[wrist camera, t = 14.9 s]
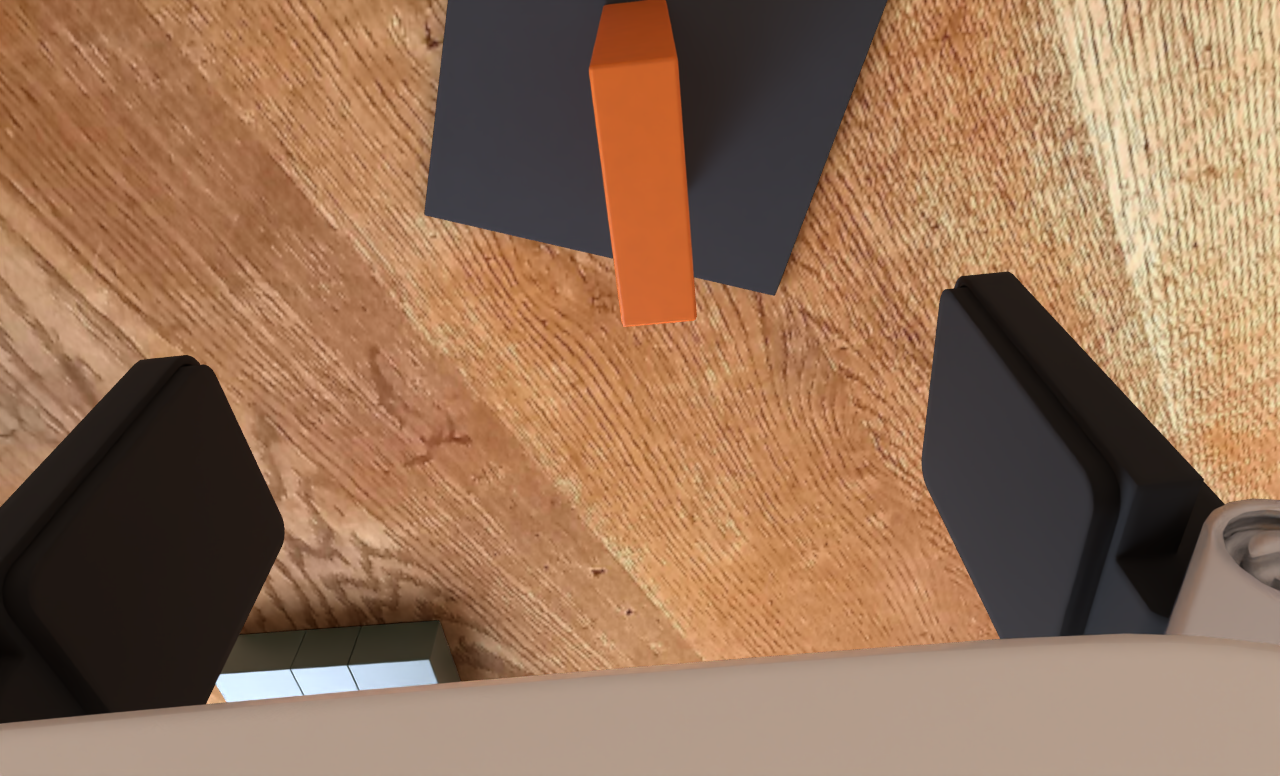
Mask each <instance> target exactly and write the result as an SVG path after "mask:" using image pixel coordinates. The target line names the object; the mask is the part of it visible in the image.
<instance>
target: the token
mask: <svg viewBox="0 0 1280 776" xmlns="http://www.w3.org/2000/svg"><path fill="white" fill-rule="evenodd" d="M589 77H590V85H591V92H592V100H593V107H594V115H595V123H596V130H597V138H598V146H599V153H600V161H601V168H602V176H603V184H604V191H605V199H606V206H607V214H608V222H609V229H610V237H611V245H612V252H613V260H614V267H615V275H616V283H617V290H618V298H619V305H620V313H621V321H622V324H623V326H625V327H629V326H640V325H651V324H662V323H673V322H684V321H693V320H695V319H696V317H697V313H696V299H695V286H694V272H693V258H692V245H691V231H690V217H689V204H688V190H687V176H686V163H685V149H684V136H683V122H682V108H681V95H680V81H679V67H678V58H677V53H676V48H675V43H674V38H673V33H672V28H671V23H670V18H669V13H668V8H667V3H666V0H644V1H635V2H626V3H617V4H608V5H604V6H603V9H602V14H601V18H600V23H599V27H598V31H597V36H596V40H595V45H594V49H593V53H592V58H591V62H590V66H589Z"/></svg>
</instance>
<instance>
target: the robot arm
mask: <svg viewBox="0 0 1280 776" xmlns="http://www.w3.org/2000/svg"><path fill="white" fill-rule="evenodd" d="M922 472H923V477H924V481H925V484H926V486H927V489H928V491H929V493H930V495H931V497H932V499H933V501H934V503H935V505H936V507H937V509H938V511H939V513H940V516H941V518H942V520H943V522H944V524H945V526H946V528H947V530H948V532H949V534H950V536H951V538H952V540H953V542H954V544H955V546H956V549H957V551H958V553H959V555H960V557H961V559H962V561H963V563H964V565H965V567H966V569H967V571H968V573H969V575H970V577H971V579H972V581H973V584H974V586H975V588H976V590H977V592H978V594H979V596H980V598H981V600H982V602H983V604H984V606H985V608H986V610H987V612H988V614H989V617H990V619H991V621H992V623H993V625H994V627H995V629H996V631H997V633H998V635H999V637H1000V639H992V640H978V641H966V642H953V643H940V644H927V645H911V646H896V647H880V648H867V649H855V650H842V651H830V652H817V653H805V654H792V655H780V656H767V657H755V658H742V659H729V660H717V661H704V662H692V663H679V664H667V665H654V666H642V667H629V668H617V669H606V670H594V671H582V672H570V673H558V674H546V675H534V676H523V677H511V678H499V679H487V680H475V681H464V682H452V683H441V684H429V685H417V686H406V687H394V688H383V689H371V690H359V691H348V692H336V693H325V694H314V695H303V696H292V697H281V698H270V699H259V700H248V701H237V702H226V703H215V704H206V703H207V701H208V698H209V696H210V694H211V692H212V690H213V688H214V686H215V684H216V682H217V680H218V678H219V676H220V674H221V672H222V669H223V667H224V665H225V663H226V661H227V659H228V657H229V655H230V653H231V651H232V649H233V647H234V645H235V642H236V640H237V638H238V636H239V634H240V632H241V630H242V628H243V626H244V624H245V622H246V620H247V618H248V616H249V613H250V611H251V609H252V607H253V605H254V603H255V601H256V599H257V597H258V595H259V593H260V591H261V589H262V586H263V584H264V582H265V580H266V578H267V576H268V574H269V572H270V570H271V568H272V566H273V564H274V562H275V560H276V557H277V555H278V553H279V551H280V549H281V547H282V544H283V541H284V522H283V519H282V516H281V514H280V512H279V510H278V507H277V505H276V503H275V501H274V499H273V497H272V495H271V492H270V490H269V488H268V486H267V484H266V482H265V480H264V477H263V475H262V473H261V471H260V469H259V467H258V465H257V462H256V460H255V458H254V456H253V454H252V452H251V450H250V448H249V445H248V443H247V441H246V439H245V437H244V435H243V433H242V430H241V428H240V426H239V424H238V422H237V420H236V418H235V415H234V413H233V411H232V409H231V407H230V405H229V403H228V400H227V398H226V396H225V394H224V392H223V390H222V388H221V385H220V383H219V381H218V379H217V377H216V375H215V373H214V372H213V370H212V369H211V368H210V367H209V366H207V365H200V363H199V362H198V361H197V360H196V359H195V358H193V357H191V356H188V355H183V356H173V357H164V358H154V359H145V360H140V361H139V362H137V363H136V364H134V366H133V367H132V368H131V369H130V370H129V371H128V372H127V373H126V374H125V375H124V376H123V377H122V378H121V379H120V380H119V381H118V383H117V384H116V385H115V386H114V387H113V388H112V389H111V390H110V391H109V392H108V393H107V394H106V395H105V396H104V397H103V399H102V400H101V401H100V402H99V403H98V404H97V405H96V406H95V407H94V408H93V409H92V410H91V411H90V412H89V413H88V414H87V416H86V417H85V418H84V419H83V420H82V421H81V422H80V423H79V424H78V425H77V426H76V427H75V428H74V429H73V430H72V432H71V433H70V434H69V435H68V436H67V437H66V438H65V439H64V440H63V441H62V442H61V443H60V444H59V445H58V446H57V447H56V449H55V450H54V451H53V452H52V453H51V454H50V455H49V456H48V457H47V458H46V459H45V460H44V461H43V462H42V463H41V465H40V466H39V467H38V468H37V469H36V470H35V471H34V472H33V473H32V474H31V475H30V476H29V477H28V478H27V479H26V480H25V482H24V483H23V484H22V485H21V486H20V487H19V488H18V489H17V490H16V491H15V492H14V493H13V494H12V495H11V496H10V498H9V499H8V500H7V501H6V502H5V503H4V504H3V505H2V506H1V507H0V776H1280V500H1269V499H1247V500H1241V501H1234V502H1229V503H1227V504H1224V503H1223V502H1222V501H1221V500H1220V499H1219V498H1218V497H1217V495H1216V494H1215V493H1214V492H1213V491H1212V490H1211V489H1210V488H1209V487H1208V486H1207V485H1206V484H1205V483H1204V481H1203V480H1204V479H1203V478H1202V477H1201V476H1200V475H1199V474H1198V473H1197V471H1196V470H1195V469H1194V468H1193V467H1192V466H1191V465H1190V464H1189V463H1188V462H1187V461H1186V460H1185V459H1184V458H1183V456H1182V455H1181V454H1180V453H1179V452H1178V451H1177V450H1176V449H1175V448H1174V447H1173V446H1172V445H1171V444H1170V442H1169V441H1168V440H1167V439H1166V438H1165V437H1164V436H1163V435H1162V434H1161V433H1160V432H1159V431H1158V430H1157V429H1156V427H1155V426H1154V425H1153V424H1152V423H1151V422H1150V421H1149V420H1148V419H1147V418H1146V417H1145V416H1144V415H1143V413H1142V412H1141V411H1140V410H1139V409H1138V408H1137V407H1136V406H1135V405H1134V404H1133V403H1132V402H1131V401H1130V400H1129V398H1128V397H1127V396H1126V395H1125V394H1124V393H1123V392H1122V391H1121V390H1120V389H1119V388H1118V387H1117V386H1116V385H1115V383H1114V382H1113V381H1112V380H1111V379H1110V378H1109V377H1108V376H1107V375H1106V374H1105V373H1104V372H1103V371H1102V369H1101V368H1100V367H1099V366H1098V365H1097V364H1096V363H1095V362H1094V361H1093V360H1092V359H1091V358H1090V357H1089V356H1088V354H1087V353H1086V352H1085V351H1084V350H1083V349H1082V348H1081V347H1080V346H1079V345H1078V344H1077V343H1076V342H1075V340H1074V339H1073V338H1072V337H1071V336H1070V335H1069V334H1068V333H1067V332H1066V331H1065V330H1064V329H1063V328H1062V327H1061V325H1060V324H1059V323H1058V322H1057V321H1056V320H1055V319H1054V318H1053V317H1052V316H1051V315H1050V314H1049V313H1048V312H1047V310H1046V309H1045V308H1044V307H1043V306H1042V305H1041V304H1040V303H1039V302H1038V301H1037V300H1036V299H1035V298H1034V296H1033V295H1032V294H1031V293H1030V292H1029V291H1028V290H1027V289H1026V288H1025V287H1024V286H1023V285H1022V284H1021V283H1020V281H1019V280H1018V279H1017V278H1016V277H1015V276H1014V275H1013V274H1011V273H1010V272H999V273H989V274H979V275H969V276H961V277H960V278H959V279H958V280H957V282H956V284H955V287H954V289H945V290H944V291H943V292H942V295H941V298H940V303H939V312H938V320H937V329H936V338H935V347H934V355H933V364H932V373H931V381H930V390H929V399H928V407H927V416H926V425H925V434H924V442H923V451H922Z"/></svg>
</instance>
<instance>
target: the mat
mask: <svg viewBox="0 0 1280 776" xmlns="http://www.w3.org/2000/svg"><path fill="white" fill-rule="evenodd" d="M635 1H644V0H448V5H447V14H446V23H445V32H444V41H443V50H442V59H441V68H440V77H439V86H438V95H437V104H436V113H435V122H434V131H433V140H432V149H431V158H430V167H429V176H428V185H427V194H426V203H425V212H424V214H425V215H426V216H431V217H435V218H439V219H444V220H448V221H452V222H457V223H461V224H465V225H470V226H474V227H478V228H483V229H487V230H491V231H496V232H500V233H504V234H509V235H513V236H517V237H522V238H526V239H530V240H535V241H539V242H543V243H548V244H552V245H557V246H561V247H565V248H570V249H574V250H578V251H583V252H587V253H591V254H596V255H600V256H604V257H609V258H613V252H612V245H611V237H610V229H609V222H608V214H607V206H606V199H605V191H604V184H603V176H602V168H601V161H600V153H599V146H598V138H597V130H596V123H595V115H594V107H593V100H592V92H591V85H590V77H589V66H590V62H591V58H592V53H593V49H594V45H595V40H596V36H597V31H598V27H599V23H600V18H601V14H602V9H603V6H604V5H608V4H617V3H626V2H635ZM666 3H667V8H668V13H669V18H670V23H671V28H672V33H673V38H674V43H675V48H676V53H677V58H678V67H679V81H680V95H681V108H682V122H683V136H684V149H685V163H686V176H687V190H688V204H689V217H690V231H691V245H692V258H693V272H694V277H696V278H700V279H704V280H709V281H713V282H717V283H722V284H726V285H730V286H735V287H739V288H743V289H748V290H752V291H756V292H761V293H765V294H769V295H775V294H776V291H777V289H778V286H779V284H780V281H781V278H782V276H783V273H784V271H785V268H786V265H787V263H788V260H789V257H790V255H791V252H792V250H793V247H794V244H795V242H796V239H797V236H798V234H799V231H800V229H801V226H802V223H803V221H804V218H805V215H806V213H807V210H808V208H809V205H810V202H811V200H812V197H813V194H814V192H815V189H816V187H817V184H818V181H819V179H820V176H821V173H822V171H823V168H824V166H825V163H826V160H827V158H828V155H829V152H830V150H831V147H832V145H833V142H834V139H835V137H836V134H837V131H838V129H839V126H840V124H841V121H842V118H843V116H844V113H845V110H846V108H847V105H848V103H849V100H850V97H851V95H852V92H853V89H854V87H855V84H856V82H857V79H858V76H859V74H860V71H861V69H862V66H863V63H864V61H865V58H866V55H867V53H868V50H869V48H870V45H871V42H872V40H873V37H874V34H875V32H876V29H877V27H878V24H879V21H880V19H881V16H882V13H883V11H884V8H885V6H886V3H887V0H666Z"/></svg>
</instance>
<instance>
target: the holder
mask: <svg viewBox="0 0 1280 776" xmlns="http://www.w3.org/2000/svg"><path fill="white" fill-rule="evenodd" d="M452 682H461V680H460V677H459V675H458V672H457V669H456V666H455V663H454V660H453V657H452V655H451V652H450V649H449V646H448V643H447V640H446V638H445V635H444V632H443V629H442V626H441V623H440V621H425V622H411V623H397V624H384V625H370V626H362V627H361V626H354V627H341V628H327V629H313V630H299V631H285V632H271V633H258V634H244V635H239V636H238V638H237V640H236V642H235V645H234V647H233V649H232V651H231V653H230V655H229V657H228V659H227V661H226V663H225V665H224V667H223V669H222V672H221V674H220V676H219V678H218V680H217V682H216V686H217V687H218V689H219V690H220V692H221V694H222V695H223V697H224V699H225V700H226V702H237V701H248V700H259V699H270V698H281V697H292V696H303V695H314V694H325V693H336V692H348V691H359V690H371V689H383V688H394V687H406V686H417V685H429V684H441V683H452Z"/></svg>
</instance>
